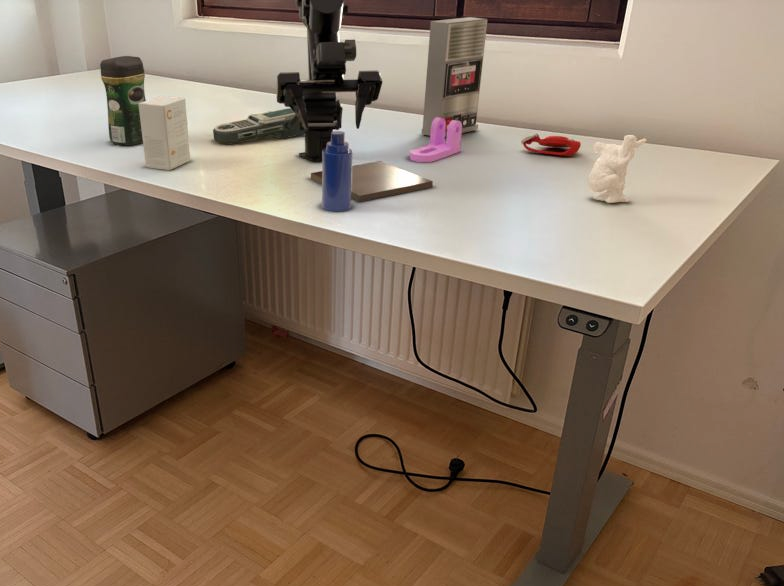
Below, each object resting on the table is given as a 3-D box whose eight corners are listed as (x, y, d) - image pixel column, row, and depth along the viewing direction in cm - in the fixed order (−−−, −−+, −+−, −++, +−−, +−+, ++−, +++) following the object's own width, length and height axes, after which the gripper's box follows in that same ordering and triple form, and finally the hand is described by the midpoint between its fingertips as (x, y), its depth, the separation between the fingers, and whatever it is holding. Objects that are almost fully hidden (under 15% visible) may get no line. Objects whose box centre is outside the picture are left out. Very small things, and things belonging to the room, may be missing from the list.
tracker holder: (556, 139, 170) (591, 137, 161) (553, 159, 171) (588, 158, 162) (517, 132, 164) (551, 130, 155) (514, 153, 165) (548, 151, 156)
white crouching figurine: (638, 200, 135) (653, 133, 129) (623, 210, 131) (639, 140, 125) (592, 191, 140) (605, 126, 134) (577, 200, 135) (590, 133, 129)
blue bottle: (316, 205, 133) (316, 131, 127) (340, 200, 136) (342, 127, 129) (332, 213, 130) (333, 137, 123) (356, 208, 132) (359, 133, 125)
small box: (166, 157, 161) (160, 95, 155) (191, 161, 159) (186, 97, 153) (144, 167, 155) (137, 102, 148) (170, 170, 153) (164, 105, 146)
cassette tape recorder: (440, 139, 175) (450, 23, 162) (421, 134, 179) (429, 21, 166) (478, 130, 182) (491, 19, 170) (459, 126, 186) (470, 17, 174)
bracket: (438, 147, 168) (441, 116, 165) (459, 151, 165) (462, 119, 161) (404, 159, 160) (406, 126, 156) (426, 163, 157) (429, 130, 153)
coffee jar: (134, 135, 180) (125, 52, 170) (157, 139, 175) (149, 55, 166) (103, 143, 173) (91, 57, 163) (127, 148, 169) (116, 61, 159)
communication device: (204, 137, 178) (201, 99, 173) (293, 125, 187) (292, 89, 183) (223, 148, 168) (220, 108, 164) (316, 135, 178) (315, 97, 173)
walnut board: (310, 179, 147) (310, 173, 147) (379, 166, 155) (380, 160, 154) (359, 202, 135) (359, 195, 134) (432, 187, 142) (432, 181, 142)
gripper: (275, 22, 127) (282, 102, 123) (383, 21, 129) (392, 99, 125) (273, 64, 138) (279, 139, 134) (372, 62, 140) (381, 136, 136)
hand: (332, 128), depth 132 cm, fingers open, 9 cm apart
